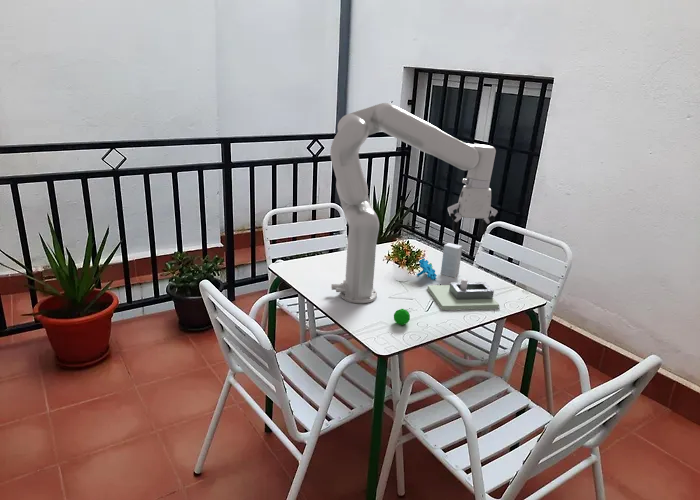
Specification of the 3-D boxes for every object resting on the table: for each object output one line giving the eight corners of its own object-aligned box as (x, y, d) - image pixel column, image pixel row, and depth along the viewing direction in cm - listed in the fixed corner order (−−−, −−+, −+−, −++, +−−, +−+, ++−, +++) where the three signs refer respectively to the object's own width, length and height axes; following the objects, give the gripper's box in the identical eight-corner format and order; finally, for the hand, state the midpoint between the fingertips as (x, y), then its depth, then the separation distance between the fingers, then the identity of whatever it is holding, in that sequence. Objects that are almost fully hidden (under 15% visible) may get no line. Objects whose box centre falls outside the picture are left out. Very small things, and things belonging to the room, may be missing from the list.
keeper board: (442, 310, 162) (444, 290, 160) (427, 289, 177) (429, 271, 175) (498, 308, 166) (501, 289, 163) (479, 288, 181) (482, 270, 178)
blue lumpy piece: (434, 281, 180) (418, 258, 181) (421, 289, 183) (406, 267, 184) (441, 274, 190) (426, 253, 191) (429, 282, 193) (414, 261, 194)
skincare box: (458, 274, 192) (462, 245, 187) (454, 278, 188) (458, 248, 184) (444, 270, 195) (447, 242, 190) (440, 274, 191) (443, 245, 187)
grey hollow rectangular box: (456, 299, 167) (457, 291, 166) (449, 290, 174) (450, 282, 173) (492, 298, 169) (493, 291, 168) (483, 289, 176) (485, 282, 175)
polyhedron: (408, 320, 155) (409, 306, 153) (410, 327, 150) (411, 314, 149) (392, 319, 155) (393, 306, 153) (394, 327, 150) (395, 313, 148)
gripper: (456, 184, 156) (447, 235, 162) (507, 187, 159) (497, 237, 165) (448, 179, 163) (440, 228, 169) (497, 182, 166) (488, 230, 172)
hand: (468, 232), depth 167 cm, fingers open, 9 cm apart
